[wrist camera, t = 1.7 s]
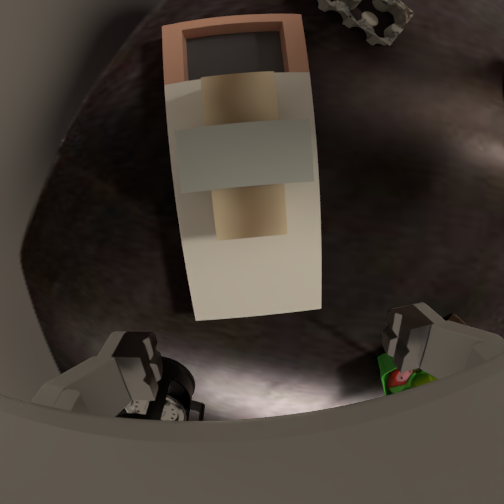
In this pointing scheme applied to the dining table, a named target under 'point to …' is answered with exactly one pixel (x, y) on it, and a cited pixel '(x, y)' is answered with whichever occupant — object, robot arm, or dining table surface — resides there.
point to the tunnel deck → (256, 256)
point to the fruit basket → (400, 376)
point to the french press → (167, 397)
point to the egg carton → (372, 17)
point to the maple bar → (250, 197)
